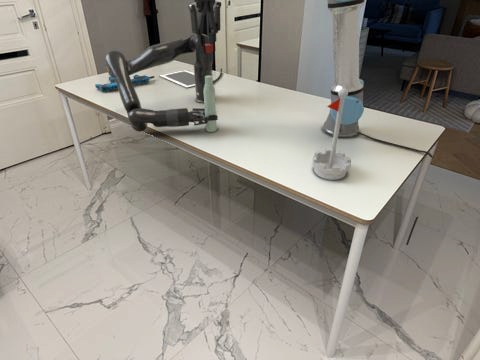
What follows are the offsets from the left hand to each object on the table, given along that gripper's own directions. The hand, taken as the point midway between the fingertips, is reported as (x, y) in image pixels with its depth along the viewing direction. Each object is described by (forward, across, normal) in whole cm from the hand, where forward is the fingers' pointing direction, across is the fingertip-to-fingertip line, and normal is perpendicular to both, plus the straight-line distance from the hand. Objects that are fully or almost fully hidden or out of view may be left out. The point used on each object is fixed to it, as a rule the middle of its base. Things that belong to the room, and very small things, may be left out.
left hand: (216, 115), depth 148 cm
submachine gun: (-49, -76, -7) cm, 90 cm away
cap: (-2, 0, +29) cm, 29 cm away
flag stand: (+36, +42, -7) cm, 56 cm away
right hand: (-2, 0, +27) cm, 27 cm away
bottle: (-3, 0, -7) cm, 7 cm away
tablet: (-12, -79, -7) cm, 80 cm away
